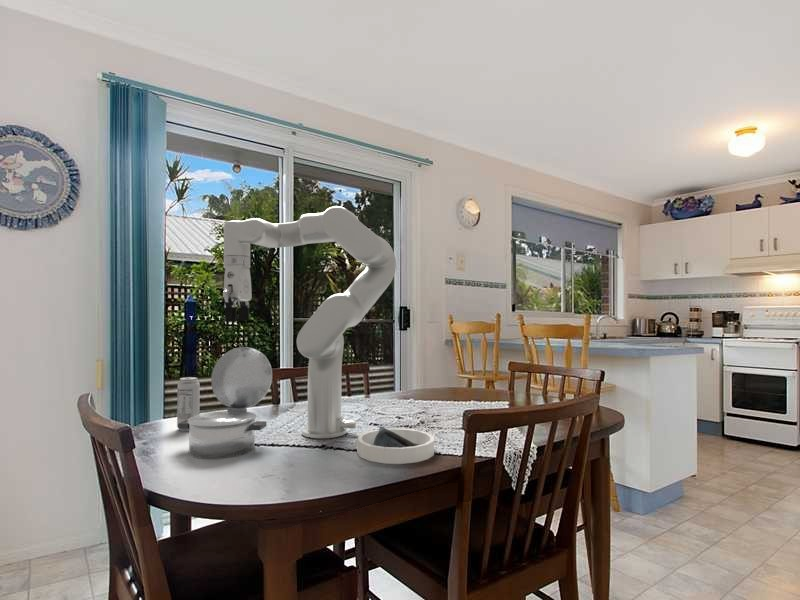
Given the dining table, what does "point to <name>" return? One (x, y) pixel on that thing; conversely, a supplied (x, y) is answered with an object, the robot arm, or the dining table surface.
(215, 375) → the lid
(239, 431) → the pot
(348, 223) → the robot arm
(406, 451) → the round white tray
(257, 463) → the dining table surface
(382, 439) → the dark grey wedge
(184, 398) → the energy drink can
